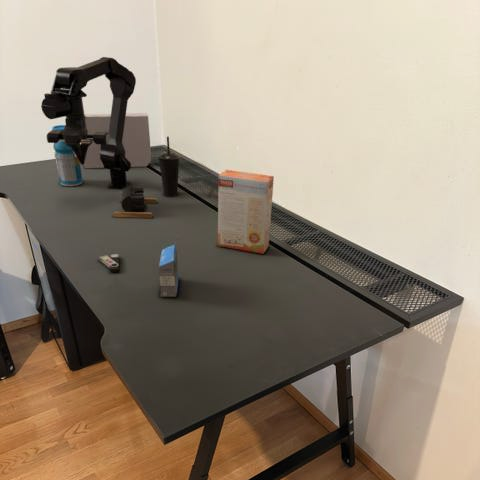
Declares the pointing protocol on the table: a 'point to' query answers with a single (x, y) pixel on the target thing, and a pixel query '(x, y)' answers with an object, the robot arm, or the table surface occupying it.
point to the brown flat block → (137, 214)
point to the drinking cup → (169, 171)
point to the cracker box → (244, 210)
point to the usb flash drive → (111, 262)
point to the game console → (133, 139)
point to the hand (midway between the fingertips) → (82, 164)
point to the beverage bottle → (67, 162)
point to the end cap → (133, 200)
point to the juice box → (169, 271)
